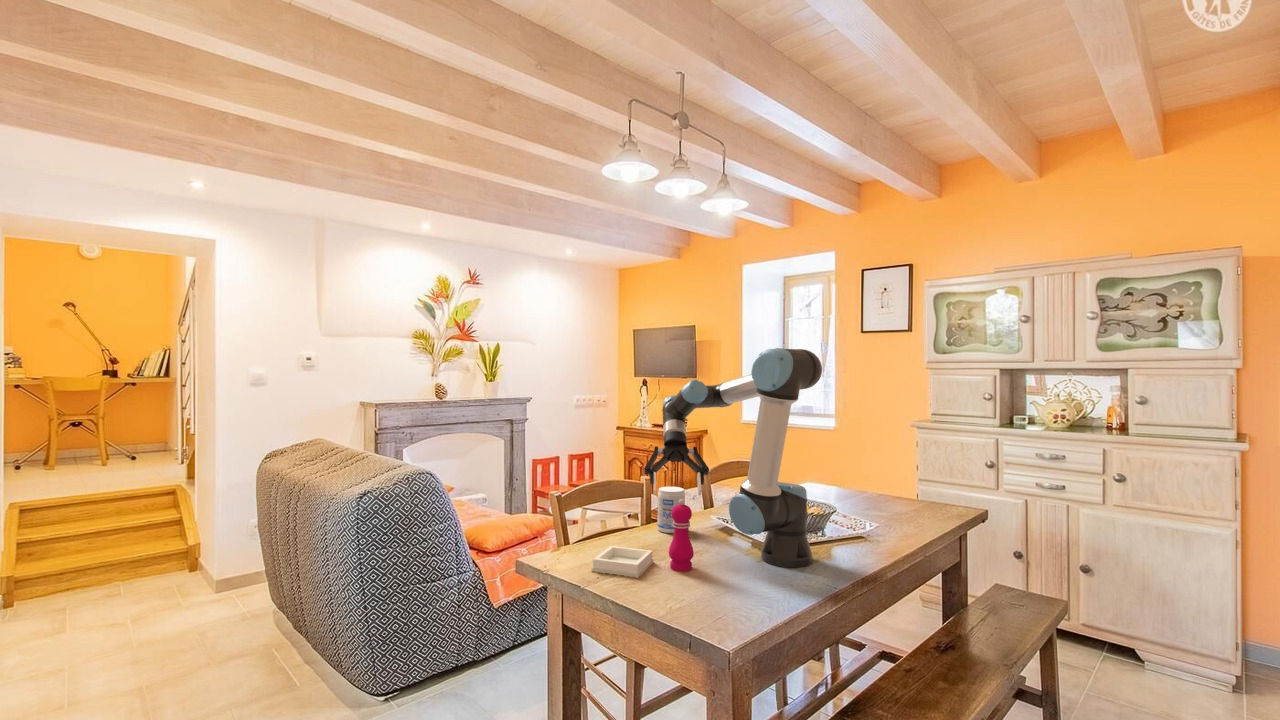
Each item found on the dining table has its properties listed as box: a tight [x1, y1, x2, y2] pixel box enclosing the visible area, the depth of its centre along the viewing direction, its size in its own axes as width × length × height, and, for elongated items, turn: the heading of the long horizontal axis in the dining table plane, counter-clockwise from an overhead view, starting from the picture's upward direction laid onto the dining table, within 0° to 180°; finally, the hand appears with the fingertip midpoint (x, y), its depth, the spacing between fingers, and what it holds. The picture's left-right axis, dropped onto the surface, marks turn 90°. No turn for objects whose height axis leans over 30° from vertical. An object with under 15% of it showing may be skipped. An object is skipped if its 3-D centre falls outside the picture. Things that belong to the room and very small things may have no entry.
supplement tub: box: [656, 486, 686, 534], centre depth 215 cm, size 10×10×15 cm
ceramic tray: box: [591, 545, 655, 579], centre depth 176 cm, size 14×14×4 cm
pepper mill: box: [668, 499, 694, 573], centre depth 175 cm, size 7×7×20 cm
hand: (677, 492), depth 183 cm, fingers open, 13 cm apart
